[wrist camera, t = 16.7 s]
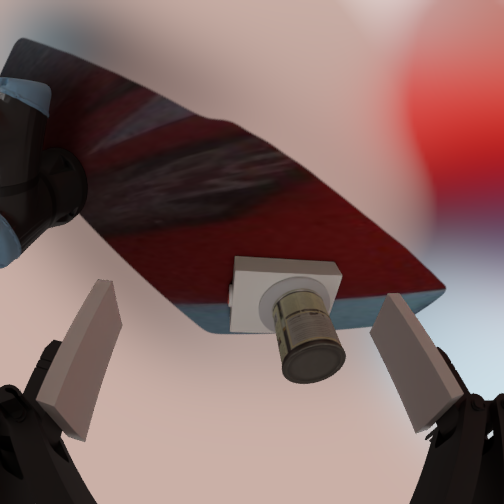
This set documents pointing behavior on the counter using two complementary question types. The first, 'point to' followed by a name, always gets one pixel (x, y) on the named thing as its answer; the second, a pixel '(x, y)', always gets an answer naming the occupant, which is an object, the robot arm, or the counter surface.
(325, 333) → the coffee can
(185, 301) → the counter surface
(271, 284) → the kitchen scale
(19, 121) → the robot arm
